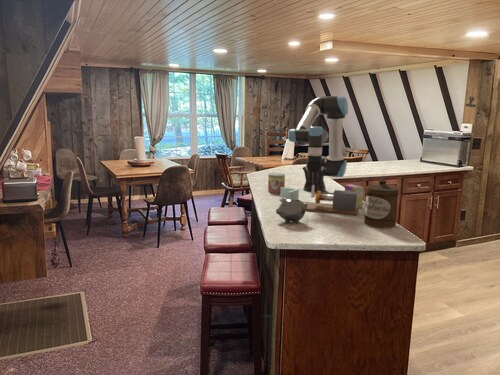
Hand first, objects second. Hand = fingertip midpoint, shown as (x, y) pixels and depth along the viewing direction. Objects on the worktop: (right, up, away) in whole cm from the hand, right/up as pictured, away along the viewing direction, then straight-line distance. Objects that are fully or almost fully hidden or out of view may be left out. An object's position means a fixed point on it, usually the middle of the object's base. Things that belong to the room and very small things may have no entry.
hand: (312, 197), depth 217 cm
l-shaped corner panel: (-14, -4, +19) cm, 24 cm away
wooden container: (+28, -13, -29) cm, 42 cm away
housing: (+17, -6, -4) cm, 18 cm away
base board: (+5, -7, 0) cm, 8 cm away
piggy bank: (-15, -12, -28) cm, 34 cm away
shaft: (+12, -4, -3) cm, 13 cm away
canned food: (-17, +2, +48) cm, 51 cm away
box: (+25, -6, +9) cm, 27 cm away
